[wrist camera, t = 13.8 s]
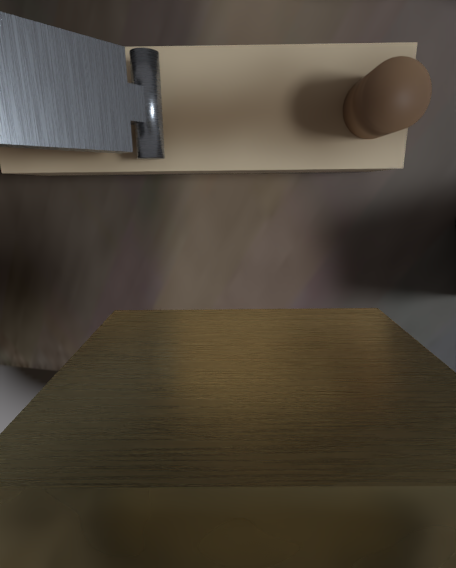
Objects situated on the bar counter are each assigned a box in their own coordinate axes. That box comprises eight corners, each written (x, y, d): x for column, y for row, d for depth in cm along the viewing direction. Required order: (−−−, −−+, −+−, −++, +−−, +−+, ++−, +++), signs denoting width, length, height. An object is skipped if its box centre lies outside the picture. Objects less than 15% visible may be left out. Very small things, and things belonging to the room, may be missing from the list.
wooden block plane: (33, 77, 23) (-68, 23, 15) (377, 72, 23) (453, 14, 15) (46, 175, 24) (-38, 171, 17) (368, 171, 24) (433, 165, 17)
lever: (148, 59, 18) (-173, -27, 11) (164, 52, 17) (-176, -48, 10) (154, 159, 19) (-128, 146, 12) (170, 158, 18) (-127, 142, 11)
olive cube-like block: (132, 488, 11) (32, 798, 6) (114, 310, 10) (-50, 488, 4) (358, 487, 11) (492, 799, 6) (377, 308, 10) (591, 485, 4)
